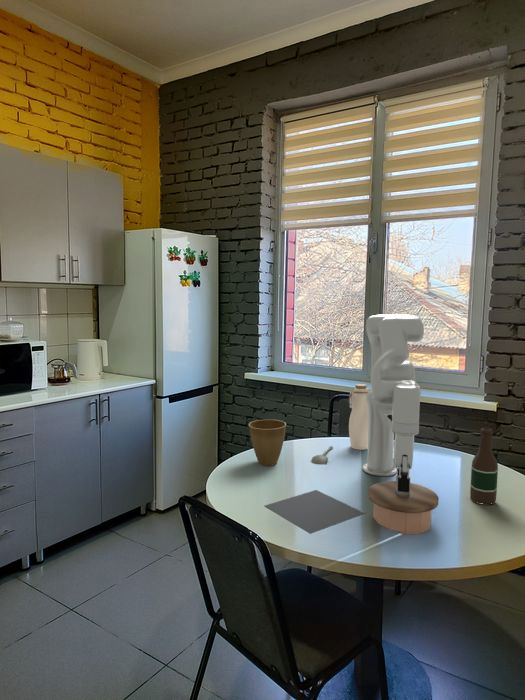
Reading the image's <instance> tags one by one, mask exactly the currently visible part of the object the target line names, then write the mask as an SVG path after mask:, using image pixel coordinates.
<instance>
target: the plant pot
mask: <svg viewBox="0 0 525 700" xmlns="http://www.w3.org/2000/svg"><path fill="white" fill-rule="evenodd" d="M286 427H287V423H286V422H285V421H283V420H279V419H259V420H254V421H250V422H249V423H248V429H249V435H250V440H251V444H252V448H253V450H254V454H255V457H256V459H257V462H258V464H259V465H261V466H264V465H265V467H267V466H269V467H270V466H275V465H277V464H278V462H279V458H280V455H281V452H282V448H283V444H284V440H285V435H286V429H287V428H286Z"/></svg>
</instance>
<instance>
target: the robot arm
mask: <svg viewBox="0 0 525 700" xmlns="http://www.w3.org/2000/svg"><path fill="white" fill-rule="evenodd" d="M365 322H366V323H365V329H366V335H367V338H368V341H369V344H370V349H371V355H370V356H371V361H370V363H371V365H370V367H371V368H370V387H371V390H369V391H370V392H369V393H367V409H368V449H367V458H366V459H367V460H366V463H364V464H363V465H362V470H363V471H364V473H367V474H369V475H372V476H378V477H379V476H380V477H390V476H395V474H396V473H397V475H396V476H398V475H399V477H398V491H399V492H409V487H410V483H411V477H410V470H411V469H412V467H413V460H414V449H415V448H414V447H415V446H414V444H415V436H416V435H419V432H420V431H419V430H420V428H419V427H420V408H421V403H420V402H421V386H420V385H419V384H418V382H417V381H416V370H415V366H414V364H413V362H411V361H410V360H409V358H410V349H409V344H408V342H410V343H411V342H412V343H414V342H415V343H417V342H418V343H419V342H420V341H421V340H422V339H423V338H424V336H425V327H424V322H423V321H422V319H421V318H420V317H418V316H417V315H412V314H376V315H371V316H369V317H368V318H367V319H366V321H365ZM388 416H391V419H390V418H389V417H388ZM409 477H410V478H409Z"/></svg>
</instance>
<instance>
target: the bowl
mask: <svg viewBox="0 0 525 700" xmlns="http://www.w3.org/2000/svg"><path fill="white" fill-rule="evenodd" d="M432 511H433V510H431V511H427V512H422V513H404V512H397V511H392V510H388V509H385V508H382V507H380V506H378V505H376V504H374V503H373V514H372V515H373V519H374V520H375V521H376V523H377V524H378V525H380V526H382V527H384V528H386V529H388V530H391V531H395V532H399V534H403V535H420V534H423V533H425V532H427V531H430V529H431V526H430V525H432Z"/></svg>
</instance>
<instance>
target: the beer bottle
mask: <svg viewBox="0 0 525 700" xmlns="http://www.w3.org/2000/svg"><path fill="white" fill-rule="evenodd" d="M479 432H480V438H479V439H480V440H479V447H478V450H477V451H478V452H477V453H476V455H475V456H473V459H472V460H471V461H472V462H471V472H470V491H469V492H470V493H469V494H470V495H469V496H470V497H469V498H470V500H471V499H472V500H471V501H472V502H474V503H475V502H478V503H483V504H491V503H494V502H495V501H497V493H498V492H497V491H498V489H497V488H498V472H499V471H498V470H499V466H498V465H499V464H498V463H499V462H497V458H496V456H495V455H494V453H493V452H494V451H493V433H494V431H493V429H491V428H489V427H482V428H480V430H479ZM478 503H477V504H478ZM495 503H496V502H495ZM495 503H494V504H495Z"/></svg>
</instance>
